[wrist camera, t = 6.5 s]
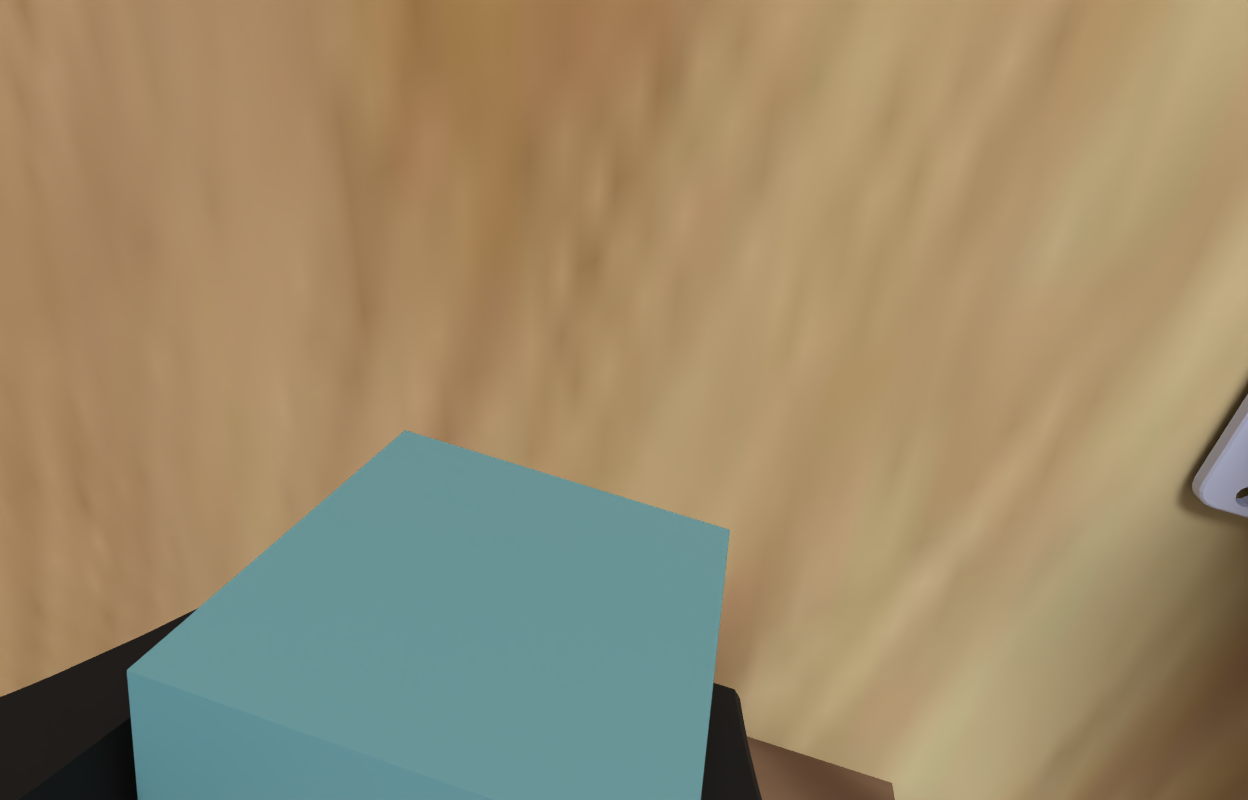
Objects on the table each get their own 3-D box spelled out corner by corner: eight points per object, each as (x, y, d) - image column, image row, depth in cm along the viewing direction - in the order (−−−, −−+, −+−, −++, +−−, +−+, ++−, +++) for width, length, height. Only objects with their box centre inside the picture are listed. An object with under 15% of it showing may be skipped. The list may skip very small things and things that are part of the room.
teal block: (729, 529, 10) (692, 869, 6) (647, 766, 12) (571, 1156, 8) (404, 430, 11) (126, 670, 6) (378, 674, 13) (154, 990, 8)
